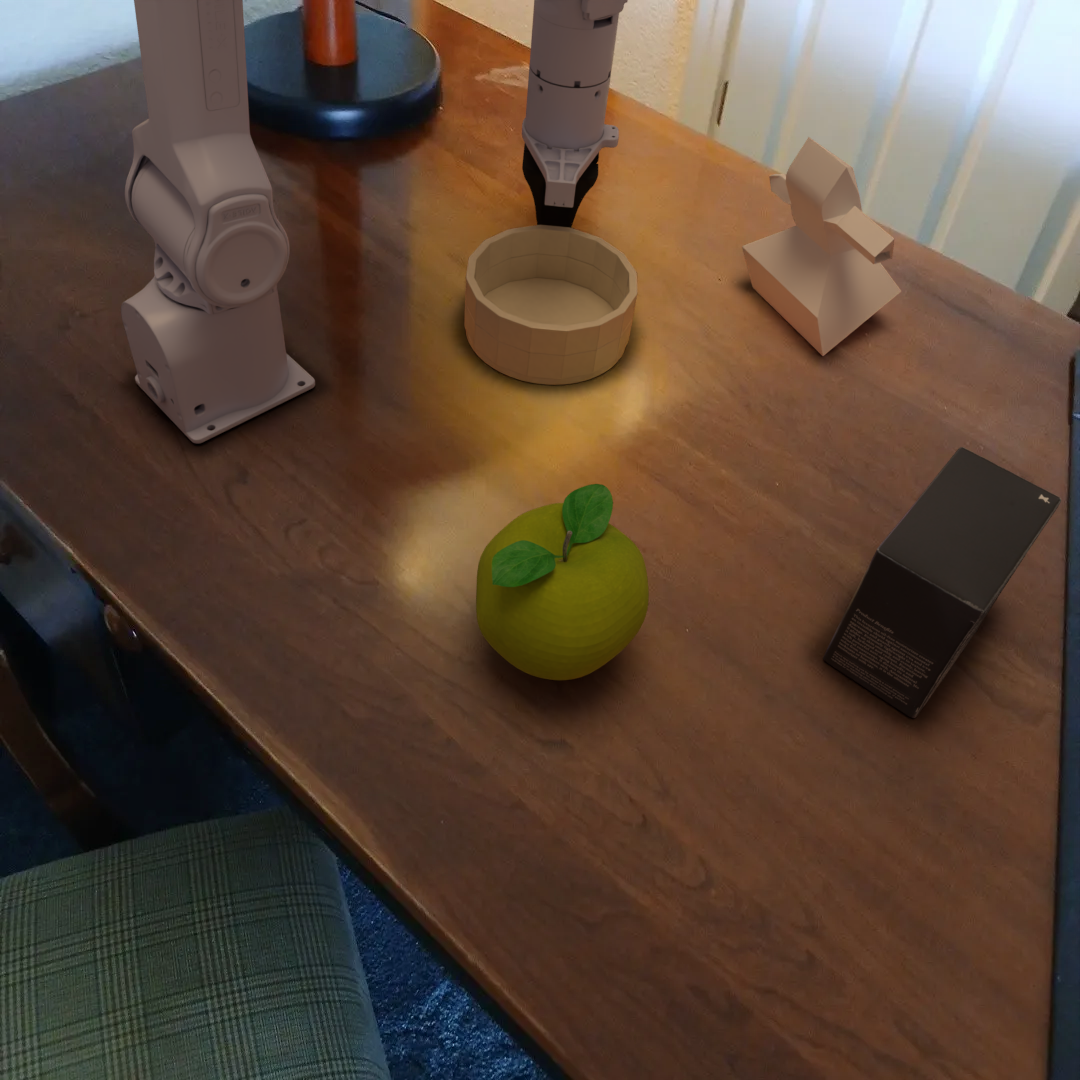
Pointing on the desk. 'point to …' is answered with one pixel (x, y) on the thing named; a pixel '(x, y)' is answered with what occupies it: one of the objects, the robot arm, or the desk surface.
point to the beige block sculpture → (822, 252)
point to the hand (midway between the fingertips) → (552, 236)
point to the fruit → (562, 588)
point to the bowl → (549, 304)
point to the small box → (937, 579)
